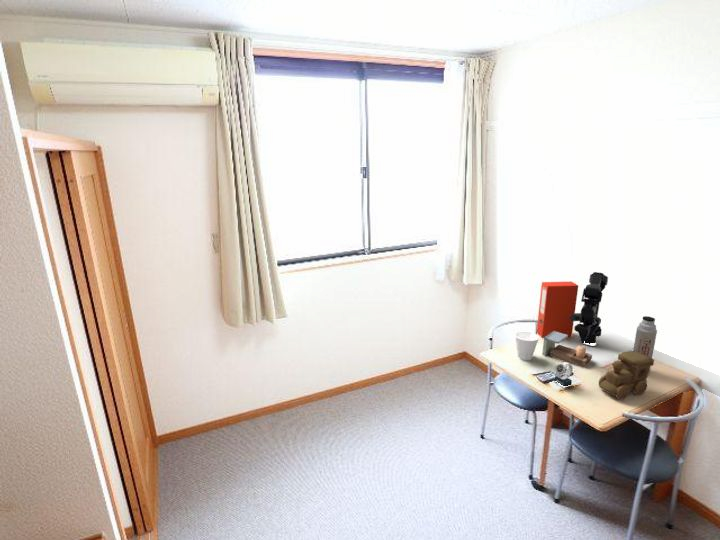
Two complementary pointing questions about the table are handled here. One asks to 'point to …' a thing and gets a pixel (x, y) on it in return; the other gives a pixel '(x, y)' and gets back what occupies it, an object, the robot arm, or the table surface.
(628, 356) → the wooden toy train
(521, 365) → the table surface
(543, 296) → the file binder
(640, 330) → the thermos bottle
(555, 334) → the awning
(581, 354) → the peg
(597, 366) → the table surface
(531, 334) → the cup
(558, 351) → the socket block
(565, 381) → the watch
